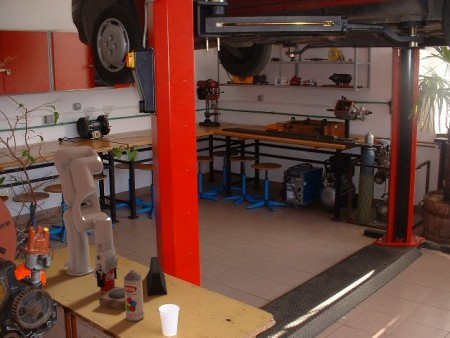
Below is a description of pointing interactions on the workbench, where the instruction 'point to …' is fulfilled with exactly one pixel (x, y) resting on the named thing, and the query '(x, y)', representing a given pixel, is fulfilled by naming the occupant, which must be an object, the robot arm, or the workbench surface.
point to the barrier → (155, 279)
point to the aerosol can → (133, 296)
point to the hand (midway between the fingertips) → (107, 282)
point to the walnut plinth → (114, 299)
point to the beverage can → (108, 281)
